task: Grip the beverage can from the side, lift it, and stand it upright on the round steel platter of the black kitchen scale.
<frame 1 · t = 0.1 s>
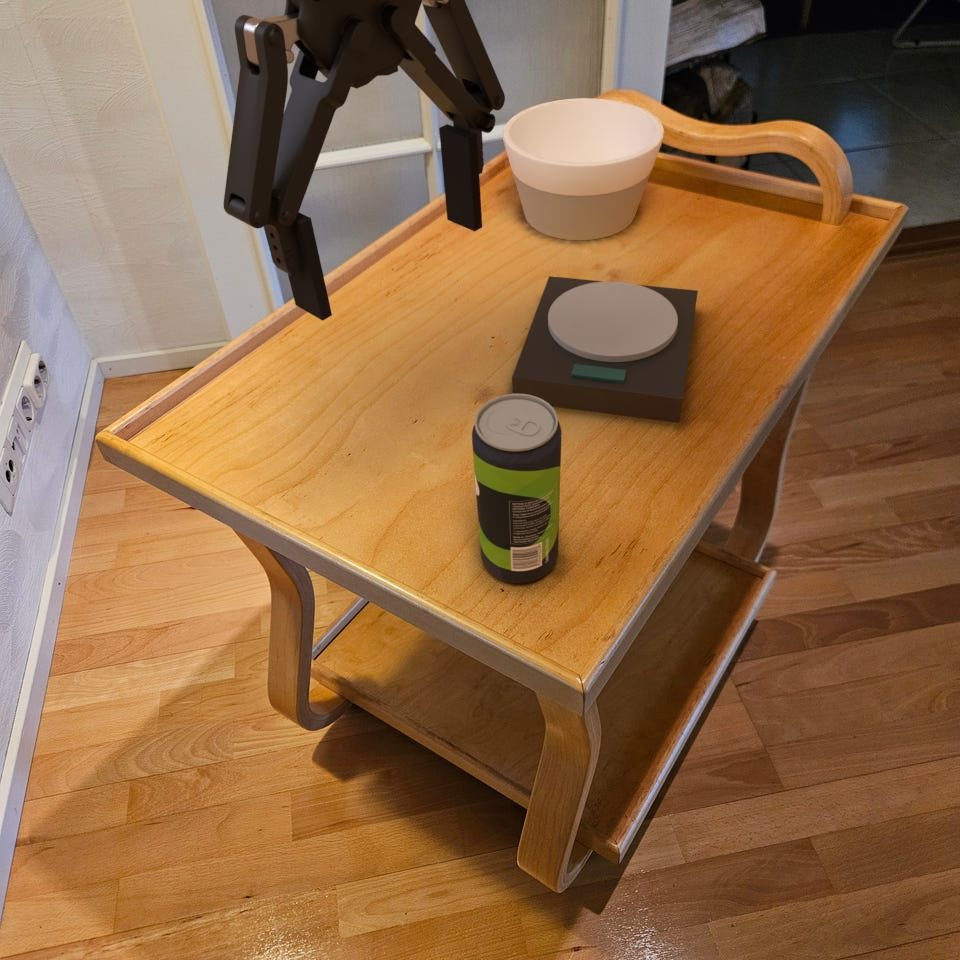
hand: (393, 264, 55), 24 cm above the serving cart, tool pointing down, fingers open, 13 cm apart
beverage can: (519, 559, 67), on the serving cart
bowl: (579, 214, 106), on the serving cart
scale: (607, 355, 85), on the serving cart
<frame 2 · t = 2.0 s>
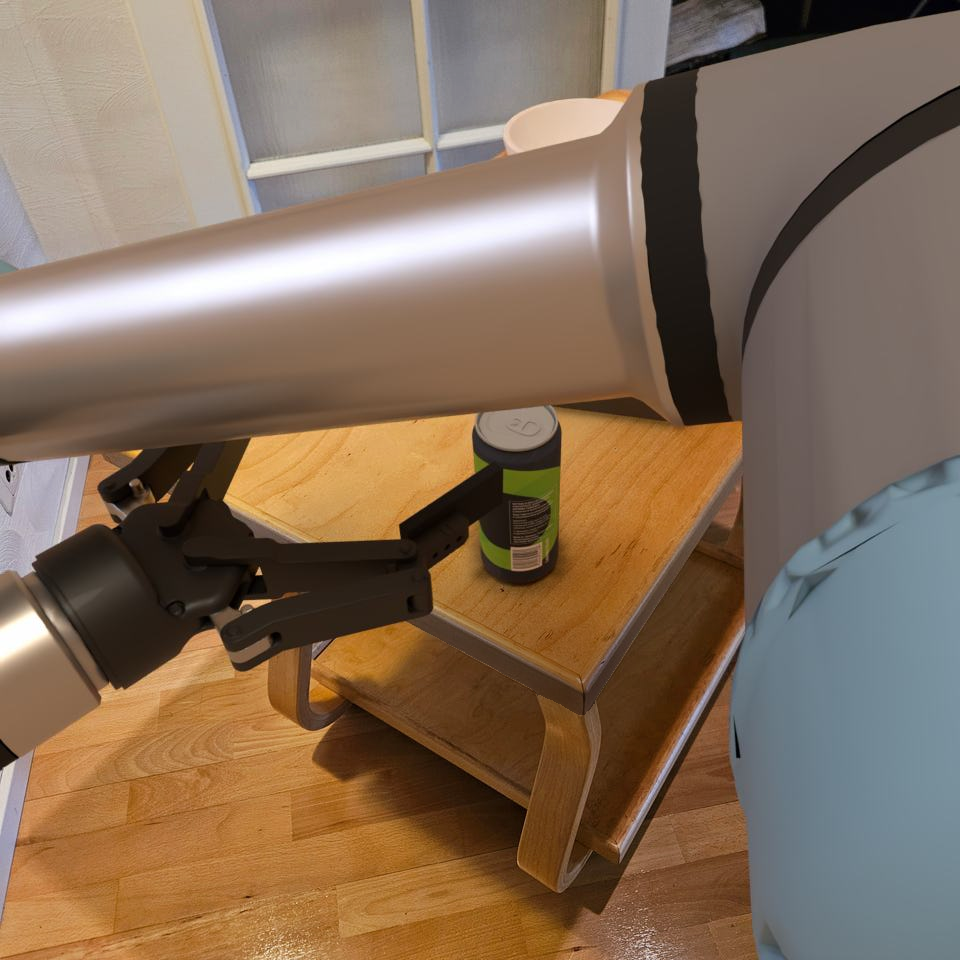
hand: (418, 420, 48), 21 cm above the serving cart, tool horizontal, fingers open, 13 cm apart
nothing on the serving cart moved.
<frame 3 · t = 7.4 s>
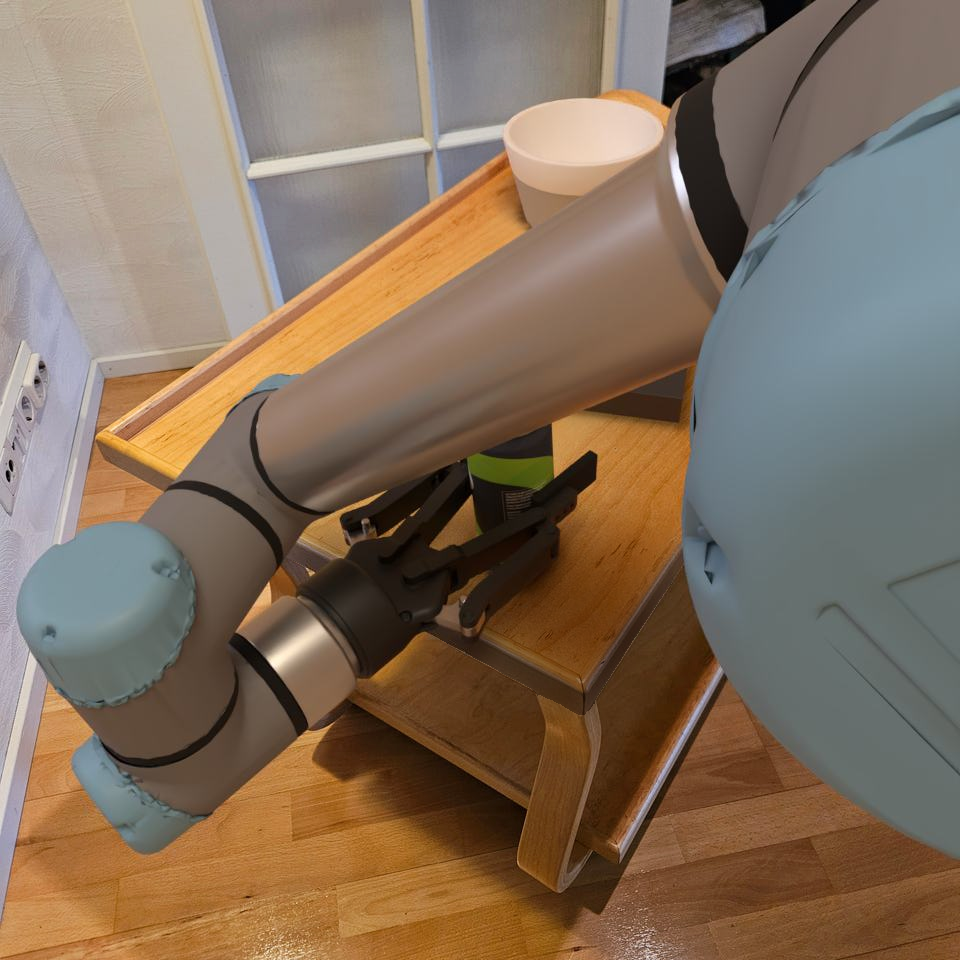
hand: (565, 449, 64), 9 cm above the serving cart, tool horizontal, fingers closed on beverage can, 5 cm apart
beverage can: (519, 558, 67), on the serving cart, touching gripper
everything else where it was.
when the fingers open (12 cm above the serving cart, at t = 14.7 s): beverage can stays where it is, resting on scale.
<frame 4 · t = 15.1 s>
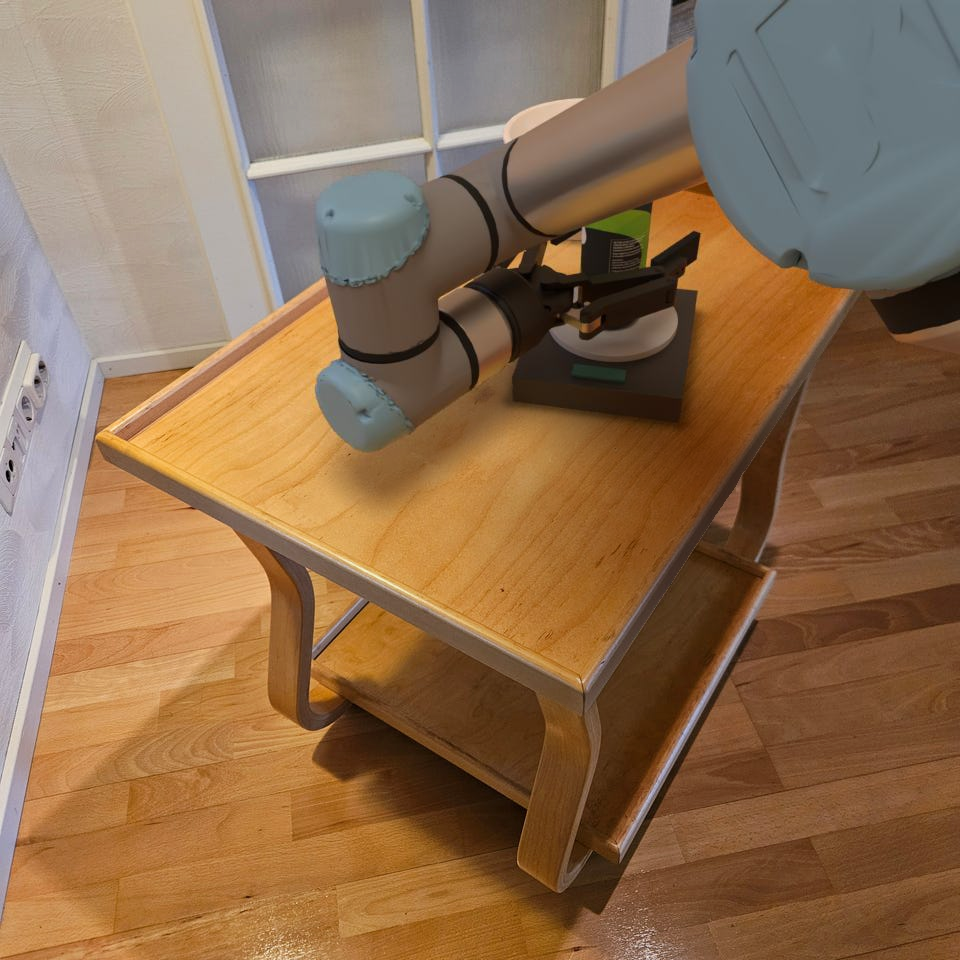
hand: (644, 224, 79), 12 cm above the serving cart, tool horizontal, fingers open, 11 cm apart
beverage can: (609, 316, 84), point 4 cm above the serving cart, touching scale
everything else where it was.
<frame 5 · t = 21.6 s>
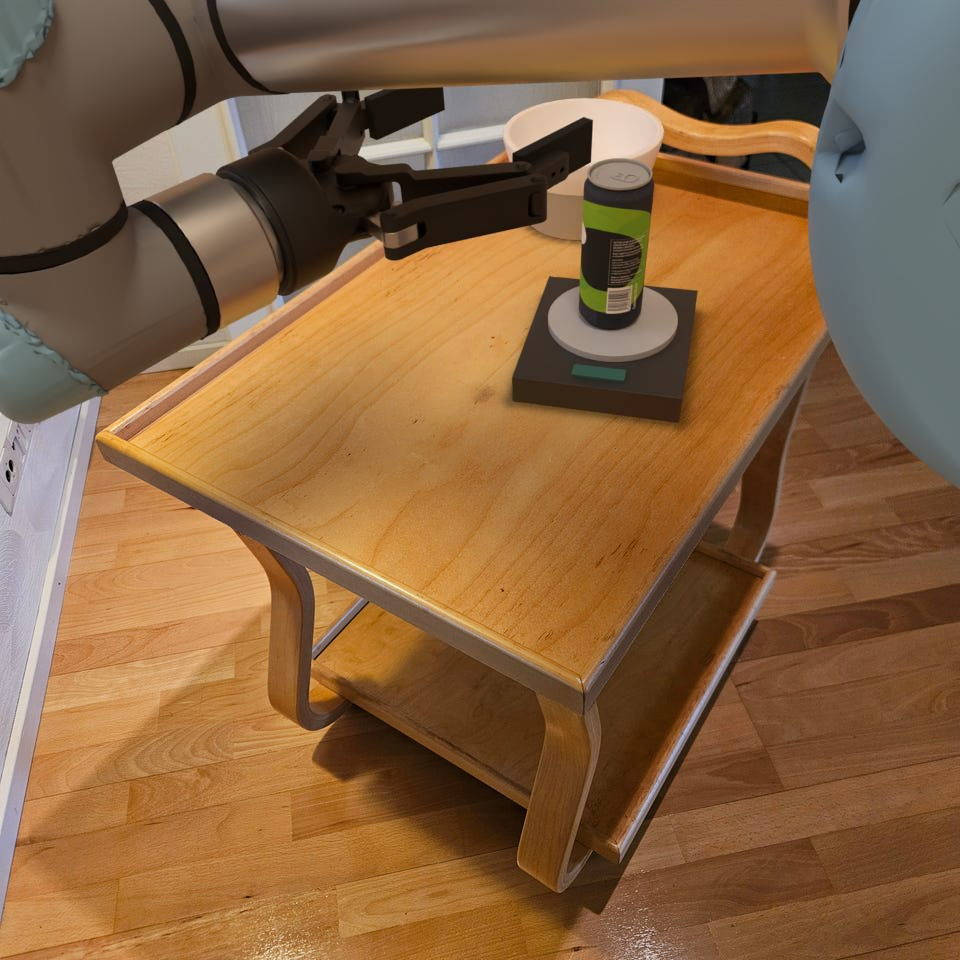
hand: (509, 112, 56), 30 cm above the serving cart, tool horizontal, fingers open, 13 cm apart
nothing on the serving cart moved.
at the end: beverage can inside the target area on the scale (0.4 cm from its centre), point 3.6 cm above the scale's base; beverage can tilted 0°; the gripper is holding nothing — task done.
